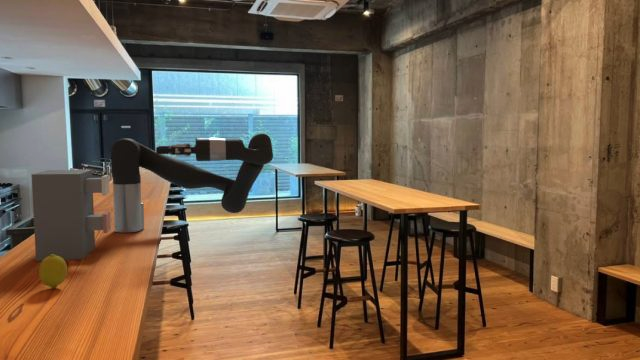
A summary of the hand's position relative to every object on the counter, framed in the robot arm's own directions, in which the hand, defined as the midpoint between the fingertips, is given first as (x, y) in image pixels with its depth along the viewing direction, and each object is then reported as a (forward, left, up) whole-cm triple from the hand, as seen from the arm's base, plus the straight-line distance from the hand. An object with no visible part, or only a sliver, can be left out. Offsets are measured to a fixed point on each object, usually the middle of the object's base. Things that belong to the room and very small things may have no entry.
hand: (157, 149), depth 145 cm
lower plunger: (+17, -9, -24) cm, 31 cm away
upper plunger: (+17, -9, -13) cm, 23 cm away
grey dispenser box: (+22, -14, -30) cm, 40 cm away
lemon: (+43, +11, -30) cm, 54 cm away
